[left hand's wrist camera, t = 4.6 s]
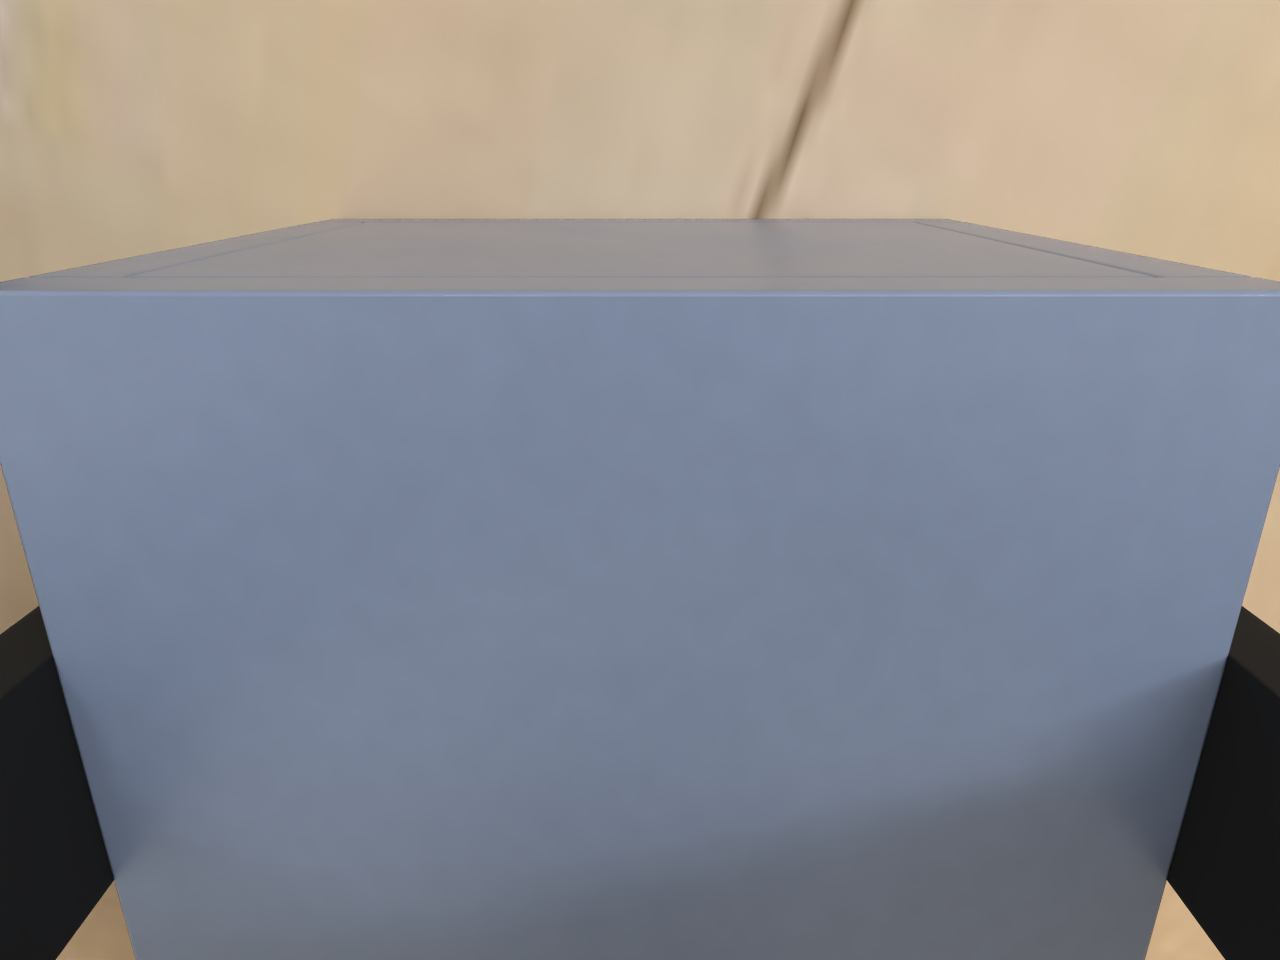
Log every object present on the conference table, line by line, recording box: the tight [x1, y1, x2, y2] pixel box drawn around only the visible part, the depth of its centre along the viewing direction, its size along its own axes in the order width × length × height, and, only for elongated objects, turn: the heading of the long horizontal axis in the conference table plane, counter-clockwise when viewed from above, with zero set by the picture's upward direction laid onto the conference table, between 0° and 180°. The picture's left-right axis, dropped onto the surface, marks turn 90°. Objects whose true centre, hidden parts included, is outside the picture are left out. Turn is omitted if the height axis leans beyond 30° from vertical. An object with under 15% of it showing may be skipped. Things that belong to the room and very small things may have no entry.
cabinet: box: [0, 219, 1280, 960], centre depth 14 cm, size 17×11×9 cm, turn 0°
